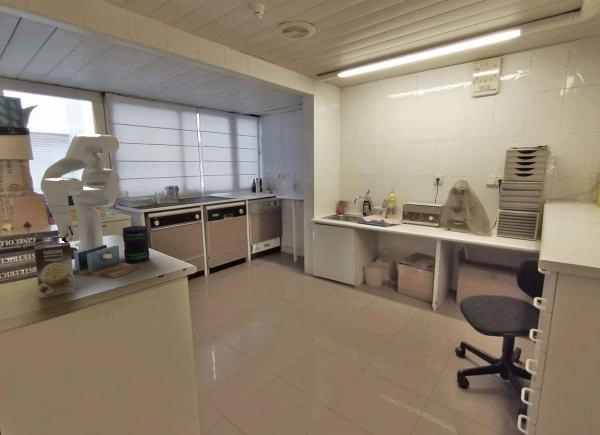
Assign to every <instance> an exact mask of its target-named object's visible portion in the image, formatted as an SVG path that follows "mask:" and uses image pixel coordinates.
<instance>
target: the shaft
mask: <svg viewBox="0 0 600 435" xmlns="http://www.w3.org/2000/svg"><path fill="white" fill-rule="evenodd" d="M78 249H79V248H78V247H75V246H74V247H73V246H71V256H72V261H73V260H74V252H78ZM90 253H91V252H90ZM102 256H103V259H104V260H113V259H114V255H113V254H105V253H103V254H102Z"/></svg>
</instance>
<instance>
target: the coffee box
mask: <svg viewBox="0 0 600 435" xmlns="http://www.w3.org/2000/svg"><path fill="white" fill-rule="evenodd" d="M71 247H72V246H71V243H70V242H69V241H68V242H65V243H54V242H53V243H44V244H35V245H34V246H33V249H34V260H35V268H36V278H37V279H36V280H37V287H38V288H37V289H38V290H37V291H38V298H39V299H44V298H49V297H54V296H58V295H59V296H60V295H64V294H69V293H74V292H75V291H76V290H75V283H74V282H75V279H74V274H73V269H74V268H73V260H72V256H71Z"/></svg>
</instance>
